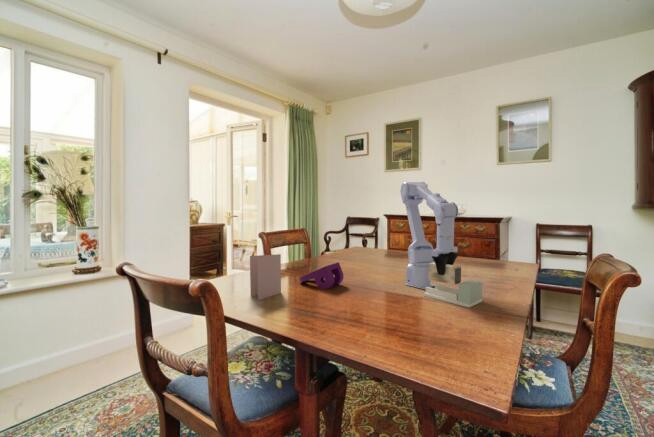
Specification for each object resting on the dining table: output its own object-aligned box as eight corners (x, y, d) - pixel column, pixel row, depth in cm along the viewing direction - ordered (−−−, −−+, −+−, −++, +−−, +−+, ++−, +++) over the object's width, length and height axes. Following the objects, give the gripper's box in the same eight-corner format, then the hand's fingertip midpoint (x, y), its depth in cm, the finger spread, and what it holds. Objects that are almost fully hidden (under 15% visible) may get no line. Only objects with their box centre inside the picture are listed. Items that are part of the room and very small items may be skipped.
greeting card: (280, 292, 123) (280, 253, 122) (284, 297, 116) (283, 257, 115) (250, 295, 120) (249, 255, 119) (252, 301, 112) (251, 259, 112)
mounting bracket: (301, 298, 134) (333, 286, 124) (294, 279, 136) (325, 266, 126) (315, 293, 142) (346, 281, 132) (308, 275, 143) (338, 262, 134)
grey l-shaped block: (423, 295, 118) (424, 277, 117) (438, 290, 124) (438, 273, 124) (469, 307, 105) (469, 286, 104) (482, 301, 111) (482, 281, 111)
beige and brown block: (428, 279, 117) (429, 263, 117) (434, 277, 120) (435, 261, 120) (455, 285, 110) (455, 268, 109) (461, 283, 112) (461, 266, 112)
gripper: (445, 239, 106) (444, 279, 107) (465, 235, 115) (465, 272, 116) (426, 237, 111) (425, 275, 112) (447, 234, 121) (447, 269, 122)
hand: (444, 273), depth 115 cm, fingers closed on beige and brown block, 4 cm apart
